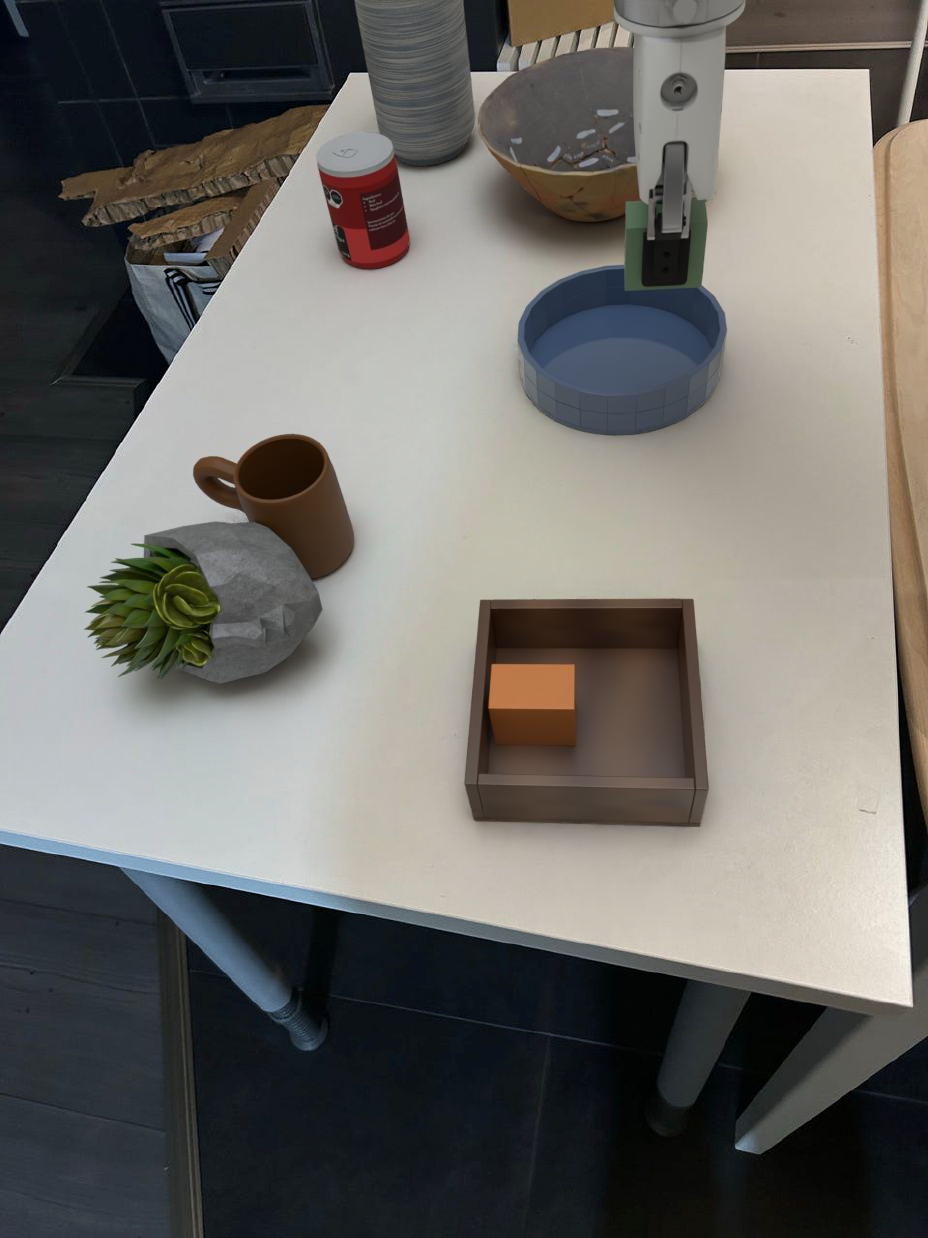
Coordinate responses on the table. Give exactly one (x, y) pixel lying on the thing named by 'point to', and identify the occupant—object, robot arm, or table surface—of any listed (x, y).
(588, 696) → the holder
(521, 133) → the bowl
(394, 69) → the vase
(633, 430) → the blue round dish
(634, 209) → the packet green
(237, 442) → the table surface
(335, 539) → the mug
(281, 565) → the potted plant
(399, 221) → the canned food
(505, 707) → the packet orange
